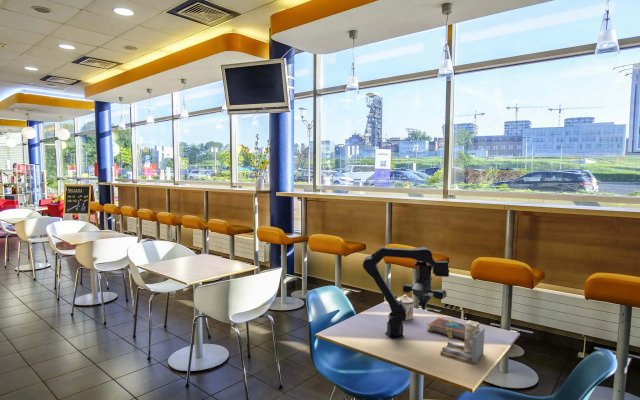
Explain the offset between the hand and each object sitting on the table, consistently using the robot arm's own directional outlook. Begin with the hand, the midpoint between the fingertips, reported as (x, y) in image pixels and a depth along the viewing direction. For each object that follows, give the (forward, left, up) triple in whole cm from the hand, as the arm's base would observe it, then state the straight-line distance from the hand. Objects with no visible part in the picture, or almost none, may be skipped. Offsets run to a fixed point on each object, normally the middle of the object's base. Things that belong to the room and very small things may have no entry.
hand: (423, 309), depth 179 cm
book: (+17, +3, -14) cm, 22 cm away
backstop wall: (+10, -24, -12) cm, 29 cm away
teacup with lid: (+7, +26, -13) cm, 30 cm away
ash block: (+8, -22, -12) cm, 26 cm away
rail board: (+6, -19, -13) cm, 24 cm away
